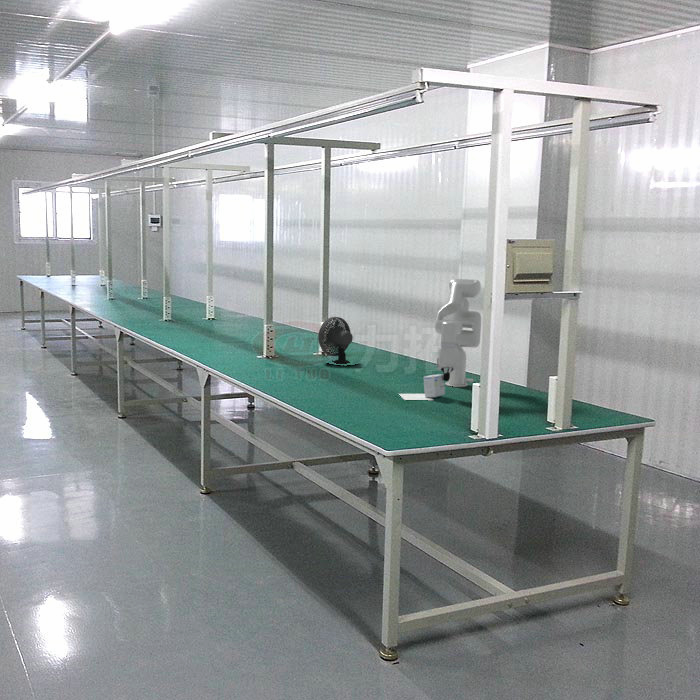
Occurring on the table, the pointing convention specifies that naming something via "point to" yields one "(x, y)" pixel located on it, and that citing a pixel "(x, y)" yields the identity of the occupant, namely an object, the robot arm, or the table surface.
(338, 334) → the fan
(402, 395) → the mat
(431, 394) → the light bulb box
